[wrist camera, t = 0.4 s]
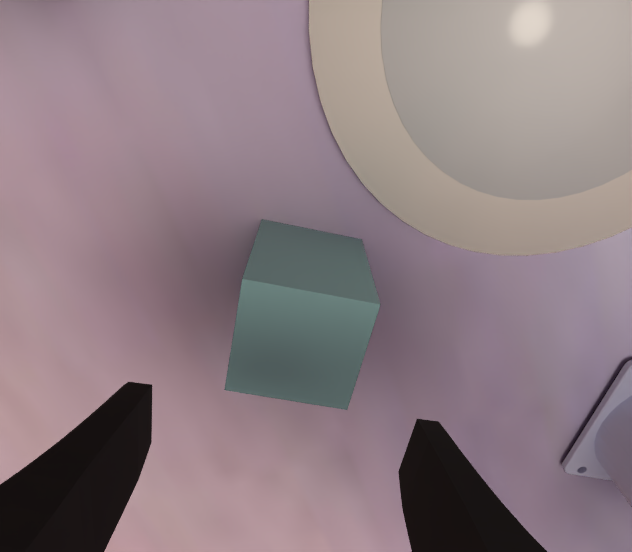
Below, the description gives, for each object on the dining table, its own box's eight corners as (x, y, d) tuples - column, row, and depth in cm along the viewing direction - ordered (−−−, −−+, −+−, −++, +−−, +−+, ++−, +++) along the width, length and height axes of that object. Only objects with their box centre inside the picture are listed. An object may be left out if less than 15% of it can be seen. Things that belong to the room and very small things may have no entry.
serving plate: (968, -249, 13) (1012, -271, 12) (649, 281, 21) (663, 290, 20) (387, -463, 11) (392, -503, 10) (270, 204, 19) (268, 210, 18)
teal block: (361, 239, 20) (380, 304, 14) (338, 323, 22) (347, 409, 16) (261, 219, 19) (242, 278, 14) (247, 307, 21) (224, 389, 16)
